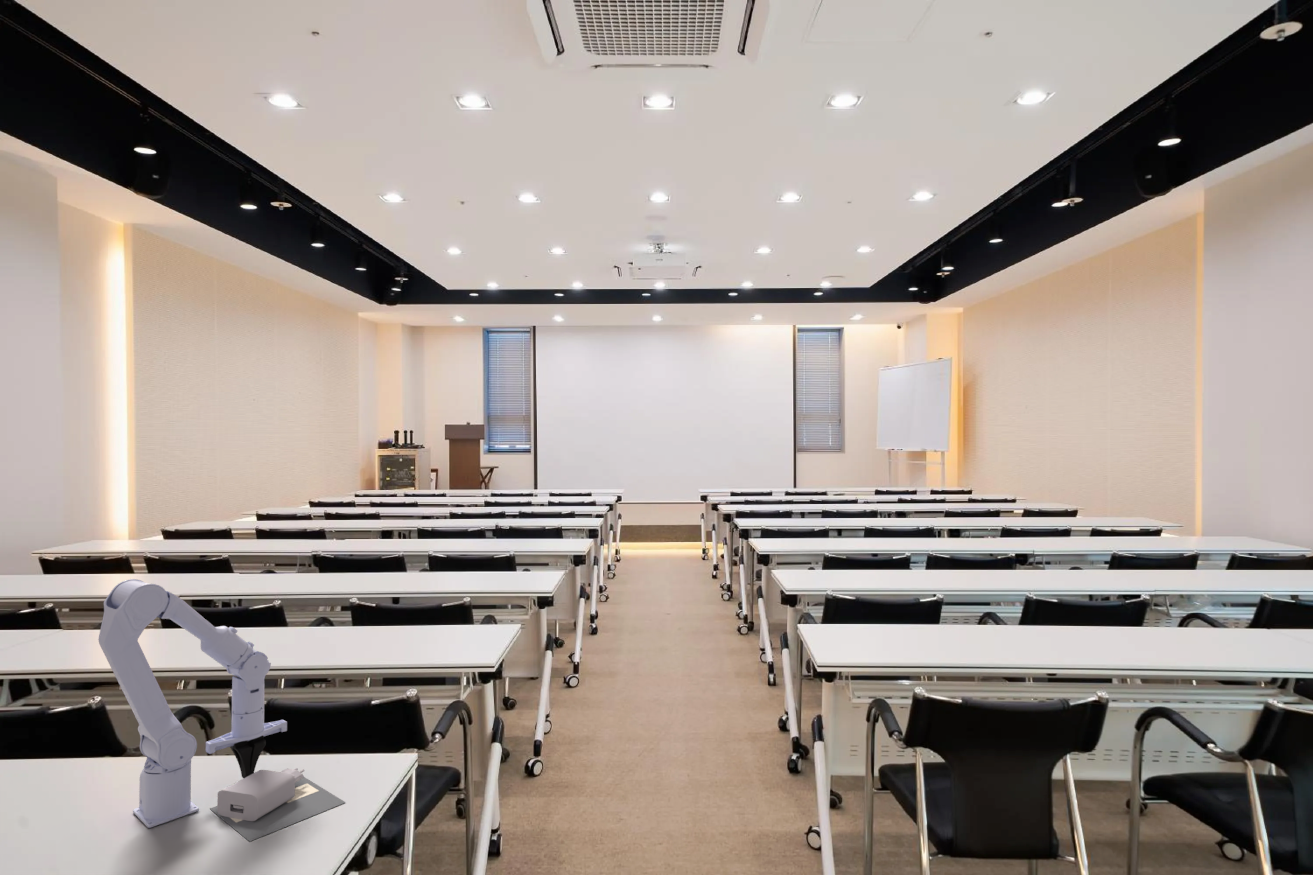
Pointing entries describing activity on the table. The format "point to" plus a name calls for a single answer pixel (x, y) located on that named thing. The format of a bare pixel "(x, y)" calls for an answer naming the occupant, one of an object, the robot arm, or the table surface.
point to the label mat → (286, 811)
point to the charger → (258, 794)
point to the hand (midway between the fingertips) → (247, 776)
